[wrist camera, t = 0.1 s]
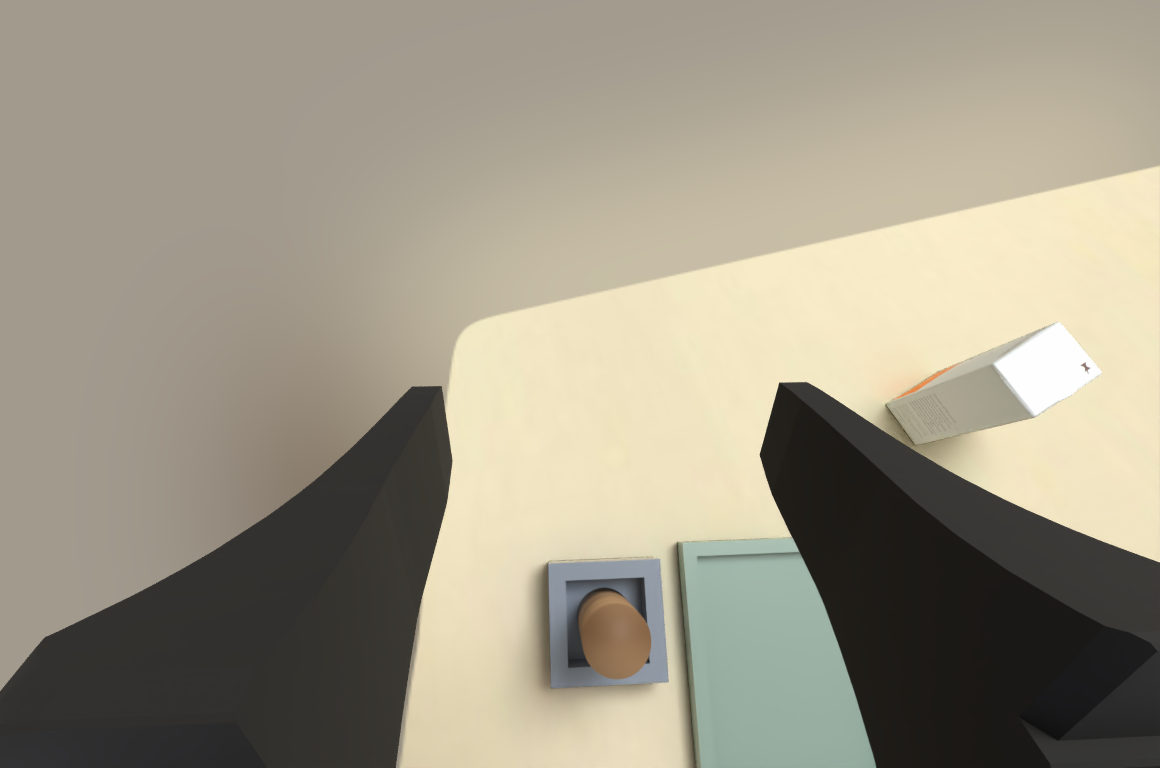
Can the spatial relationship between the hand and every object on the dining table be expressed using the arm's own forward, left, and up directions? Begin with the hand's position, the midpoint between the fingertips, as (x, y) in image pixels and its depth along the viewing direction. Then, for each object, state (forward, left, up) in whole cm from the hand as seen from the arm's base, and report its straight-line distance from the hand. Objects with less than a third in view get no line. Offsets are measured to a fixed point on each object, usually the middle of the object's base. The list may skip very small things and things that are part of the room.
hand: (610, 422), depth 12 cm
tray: (-12, -15, -32) cm, 37 cm away
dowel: (-9, -2, -31) cm, 33 cm away
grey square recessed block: (-9, -2, -32) cm, 33 cm away
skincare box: (+6, -30, -32) cm, 44 cm away
